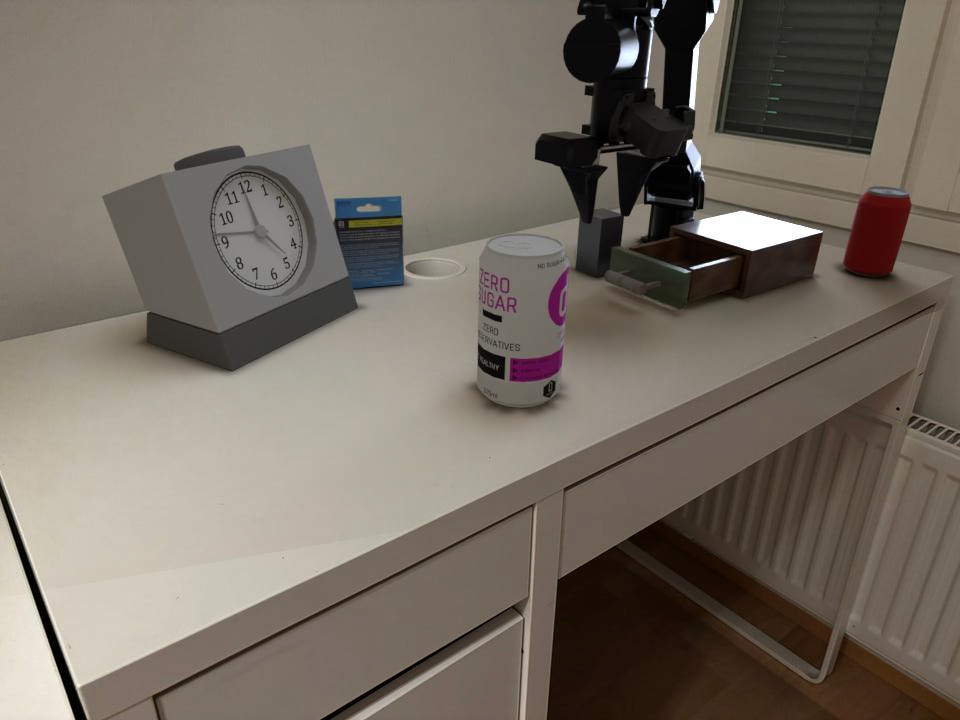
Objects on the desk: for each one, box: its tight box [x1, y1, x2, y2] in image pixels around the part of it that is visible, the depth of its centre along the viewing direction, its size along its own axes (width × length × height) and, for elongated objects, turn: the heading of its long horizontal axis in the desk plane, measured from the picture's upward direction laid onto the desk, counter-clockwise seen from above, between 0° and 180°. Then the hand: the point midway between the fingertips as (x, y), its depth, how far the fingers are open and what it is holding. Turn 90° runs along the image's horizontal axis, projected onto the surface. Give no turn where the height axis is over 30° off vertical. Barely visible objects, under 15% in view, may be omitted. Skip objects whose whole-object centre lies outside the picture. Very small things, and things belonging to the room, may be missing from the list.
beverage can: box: [842, 185, 913, 278], centre depth 102 cm, size 7×7×12 cm
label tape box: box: [332, 195, 405, 290], centre depth 94 cm, size 9×4×12 cm, turn 106°
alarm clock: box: [101, 143, 359, 372], centre depth 80 cm, size 20×16×20 cm
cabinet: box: [669, 210, 824, 299], centre depth 102 cm, size 17×14×7 cm
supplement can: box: [476, 232, 571, 409], centre depth 67 cm, size 8×8×15 cm
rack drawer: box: [603, 235, 746, 311], centre depth 94 cm, size 20×12×5 cm, turn 126°
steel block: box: [575, 207, 625, 279], centre depth 101 cm, size 4×4×8 cm
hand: (606, 219), depth 83 cm, fingers open, 6 cm apart
